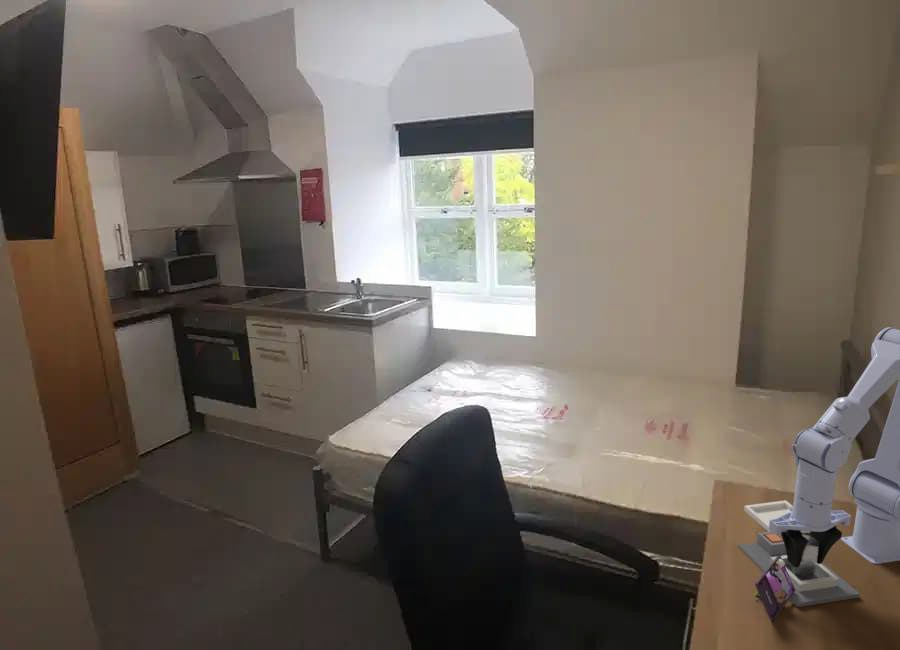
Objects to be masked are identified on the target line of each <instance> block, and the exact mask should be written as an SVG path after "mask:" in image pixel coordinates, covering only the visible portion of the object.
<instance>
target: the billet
mask: <svg viewBox="0 0 900 650" xmlns="http://www.w3.org/2000/svg"><path fill="white" fill-rule="evenodd" d="M802 536H803V537H805V538H806V539H807V540H808V541H809V542H808V543H807V545H806V546H805V548H804V550H803V553H802V558H801V563H800V566H799V567H794V566H793V565H792V564H791V563H790V568H791V570H792V571H793V572H795V573H796V574H798V575H801V576H805V577H812V576H814V575H815V573H816V566H817V558H818V551H819V542H818V541H817V540H816V539H815V538H813V537H811V535H807V534H804V533H802Z"/></svg>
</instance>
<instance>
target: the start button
mask: <svg viewBox="0 0 900 650" xmlns="http://www.w3.org/2000/svg"><path fill="white" fill-rule="evenodd" d="M765 537H766V538H767V539H768V540H769V541H771V542H772V543H777V542H783V540H782V539H781V538H780V537H779V536H778V535H775V534H767V535H765Z"/></svg>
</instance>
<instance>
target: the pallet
mask: <svg viewBox="0 0 900 650" xmlns="http://www.w3.org/2000/svg"><path fill="white" fill-rule="evenodd" d="M767 534H774V533H773V532H772V531H769V532H768V531H763V532H758V533H757V539H756V541H755V542H749V543H741V544H738V545H737V548H738V549H740V551H741V552H742V553H744V554H745V555H746V556H747V558H748V559H750V561H752V563H754V565H756V566H757V567H758V568H759V569H760V571H762V573H764V572H765V570H766V569H767V568H768V567H769V566H770V564H771V563H772V562H773V561H774V560H775V558H776V557H777V556H781V558H782V560H783V561H784V562H785V567H786V570H787V572H788V574H789V577H790V579H791V581H792V584H793V586H794V588H795V592H794V593H793V595H792V596H791V597H790V599H789V600H788V601H790V602H791V603H792V604H793V605H794V606H795V607H796V608H803V607H806V606H813V605H820V604H827V603H833V602H838V601H839V602H840V601H846V600H851V599H859V598H860V596H861V593H860V592H859V591H857V589H855V588H854V587H852V586H851V585H850V584H849V583H848V582H847V581H845V580H844V579H843V578H842V577H841V576H840V575H838V574H837V573H836V572H835V571H834V570H833V569H831V568H830V567H829V566H828V565H826V563H824V561H823V562H822V564H818V563H817V566H816V573H815V575H814V576H812V577H805V576H801V575H798V574H796V573H795V572H793V571H792V570H791V568H790V562H789V561H788V559H787V553H786V548H785V544H784V541H783V542H777V543H772V542H771V541H769V540H768V539H767V538H766V537H765V535H767ZM778 536H779V537H780V538H781V539H782V536H781V535H778ZM782 540H783V539H782ZM776 563H777V562H776ZM777 564H778V563H777ZM778 568H779V570H778V571H777V575H776V576H778V577H779V578H780V579H781V578H783V580H781V581H782V583H781V584H784V585H782V586H783V587H781V589H780V590H781V591H782V592H783V593H784V596H785V597H786V596H787V595H788V594H789V591H788V590H789V588H790V586H789V584H788V582H787V580H786V577H785V575H784V574H783V572H782V570H781V569H780V567H779V566H778ZM769 572H770V571H769ZM775 572H776V571H775ZM767 574H768V573H767Z"/></svg>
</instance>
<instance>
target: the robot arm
mask: <svg viewBox="0 0 900 650" xmlns="http://www.w3.org/2000/svg"><path fill="white" fill-rule="evenodd" d="M870 356H871V360H870V362H869V363H868V365H867V367H866V368H865V369H864V371H862V374H861V375H860V377H859V379H858V380H857V381H856V383H855V385H854V386H853V388H852V389H851V391H850V392H849V393H848V395H847V396H843V397H838V398H836V399H835V400H834V401H833V402H832V403H831V405H830V406H829V407H828V409H827V410H825V412H824V413H823V414H822V415H821V417H820V418H819V419H818V420H817V422H815V424H814V426H813V427H812V428H809V429H803V430H802V431H800V432H798V433H797V435H796V437H795V439H794V441H793V444H792V445H791V451H792V454H793V456H794V465H795V467H796V468H797V471H796V472H797V473H796V478H795V479H796V481H795V488H794V495H793V504H792V506H791V509H790V510H791V512H789V513H787V514H785V515H783V516H781V517H779V518H776V519H772V520H770V523H769V530H771V531H772V532H773V533H774V534H775V535H781V536H782V539H783V541H784V544H785V548H786V553H787V559H788V561H789V562H790V563H791V564H792V565H793V566H794V567H799V566H800V563H801V558H802V553H803V550H804V548H805V546H806V545H807V543H808V542H809V541H808V540H807V539H806V538H805V537H803V536H802V534H803V533H801V531H810V532H809V533H810V536H811V537H813V538H815V539H816V540H817V541H818V542H819V551H818V558H817V563H818V564H822V562H823V563H824V560H825V559H826V557H827V555H828V553H829V551H830V549H832V547H833V546H834V545H835V543H837V542H838V541H839V540H840V541H842V542H843V543H845V545H846V546H849V547H850V548H851V549H852V550H853V551H854V552H856V553H858V554H859V555H860V556H862V558H864V559H865V560H867V561H868V562H869V563H871V564H873V565H878V564H884V563H891V562H897V561H900V329H897V328H894V327H891V326H890V327H889V326H888V327H886V328H883V329H882V330H880V332H878V334H877V335H876V336H875V337H874V340H873V342H872V344H871V348H870ZM897 380H898V384H897V386H896V390H895V394H894V396H893V400H892V403H891V406H890V408H889V413H888V416H887V419H886V422H885V425H884V429H883V431H882V434H881V438H880V441H879V445H878V447H877V450H876V454H875V456H874V458H870V459H865V460H863V461H860V462H859V463H858V465H857V468H856V470H855V472H854V473H853V474H852V476H851V477H850V480H849V482H848V491H849V494H850V496H851V497H853V498H854V500H853V502H854V503H853V504H855V505H857V507H856V514H855V520H854V526H853V532H852V535H851V536H843V535H842V534H843V532H842V531H841V530H839V529H838V528H837V526H838V525H843V526H844V527H846V526H851V520H852V516H851V515H850V514H849V513H848V512H846V511H845V510H843V509H842V510H840V509H839V510H833V508H832V507H833V502H834V501H833V500H834V495H835V488H836V480H837V474H838V471H839V470H840V469H842V467H843V466H844V465H845V464H846V462H847V460H848V458H849V454H850V451H851V450H852V449H853V448H852V447H853V444H852V442H853V441H854V439H855V438H856V437H857V435H858V434H859V433H860V432H861V431H862V430H863V428H864V427H865V426H866V425H867V424H868V422H869V421H870V419H871V415H870V411H869V409H870V408H871V407H872V406H873V405H874V404H875V403H876V402H877V400H879V398H880V397H882V396H883V394H884V393H885V392H886V391H887V390H889V388H890V387H891V386H892V385H893V384H895V382H896V381H897Z"/></svg>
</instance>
